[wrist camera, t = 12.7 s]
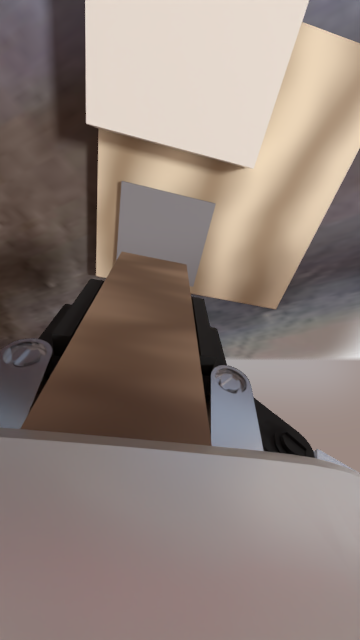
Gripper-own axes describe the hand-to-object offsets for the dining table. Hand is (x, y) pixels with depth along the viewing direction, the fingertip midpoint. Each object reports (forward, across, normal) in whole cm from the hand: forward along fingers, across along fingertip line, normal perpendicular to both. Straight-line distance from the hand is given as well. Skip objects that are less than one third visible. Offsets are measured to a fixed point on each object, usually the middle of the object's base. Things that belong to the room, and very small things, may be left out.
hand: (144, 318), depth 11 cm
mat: (+14, 0, 0) cm, 14 cm away
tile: (+12, -6, -11) cm, 18 cm away
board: (+15, -4, -5) cm, 16 cm away
